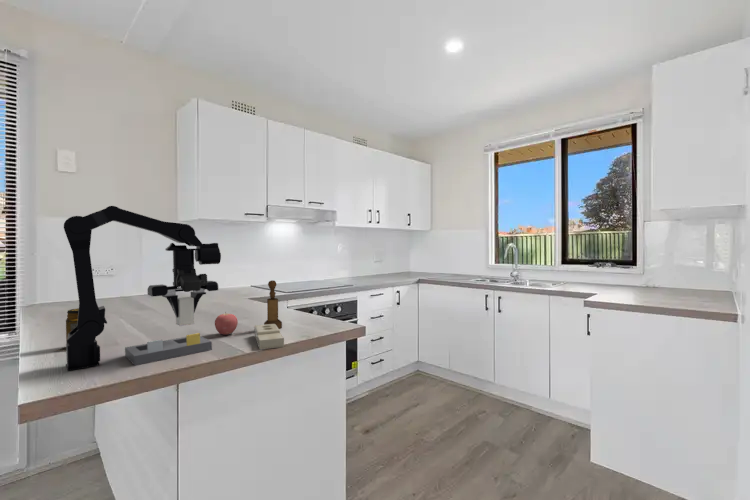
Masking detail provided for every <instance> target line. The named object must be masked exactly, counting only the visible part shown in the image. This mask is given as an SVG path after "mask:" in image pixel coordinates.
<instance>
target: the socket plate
mask: <svg viewBox="0 0 750 500" xmlns="http://www.w3.org/2000/svg"><path fill="white" fill-rule="evenodd" d="M212 343H213V342H212V341H211V340H210V339H207V338H206V337H203V336H201V333H200V332H195V333H192V334H191V333H190V334H186V336H184V337H177V338H171V339H166V340H163V339H156V340H151V341H150V340H148V341H147V342H146V343H142V344H137V345H132V346H125V347H124V355H125V358H127V360H129V362H131V363H132V364H133V365H134V366H139V365H144V364H149V363H154V362H159V361H163V360H168V359H174V358H179V357H183V356H187V355H192V354H193V355H194V354H197V353H203V352H207V351H212V350H213V344H212Z"/></svg>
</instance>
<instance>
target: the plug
mask: <svg viewBox="0 0 750 500" xmlns="http://www.w3.org/2000/svg"><path fill="white" fill-rule="evenodd" d="M177 302H178V311H179V316H178V317H176V316H175V325H177V326H179V327H182V326H189V325H194V324H195V313H194V298H192V297H191V296H184V297H183V296H181V297H178V299H177Z"/></svg>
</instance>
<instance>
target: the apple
mask: <svg viewBox="0 0 750 500" xmlns="http://www.w3.org/2000/svg"><path fill="white" fill-rule="evenodd" d="M238 322H239V321H238V318H237V316H236V315H234V314H232V313H227V311H225V313H221V314H219V315H218V316H217V317H216V318H215V319H214V327H215V330H216V331H217V332H218V333H219V334H220V335H223V336H225V335H231V334H232V333H234V332H235V330H236V329H237V326H238Z"/></svg>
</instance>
